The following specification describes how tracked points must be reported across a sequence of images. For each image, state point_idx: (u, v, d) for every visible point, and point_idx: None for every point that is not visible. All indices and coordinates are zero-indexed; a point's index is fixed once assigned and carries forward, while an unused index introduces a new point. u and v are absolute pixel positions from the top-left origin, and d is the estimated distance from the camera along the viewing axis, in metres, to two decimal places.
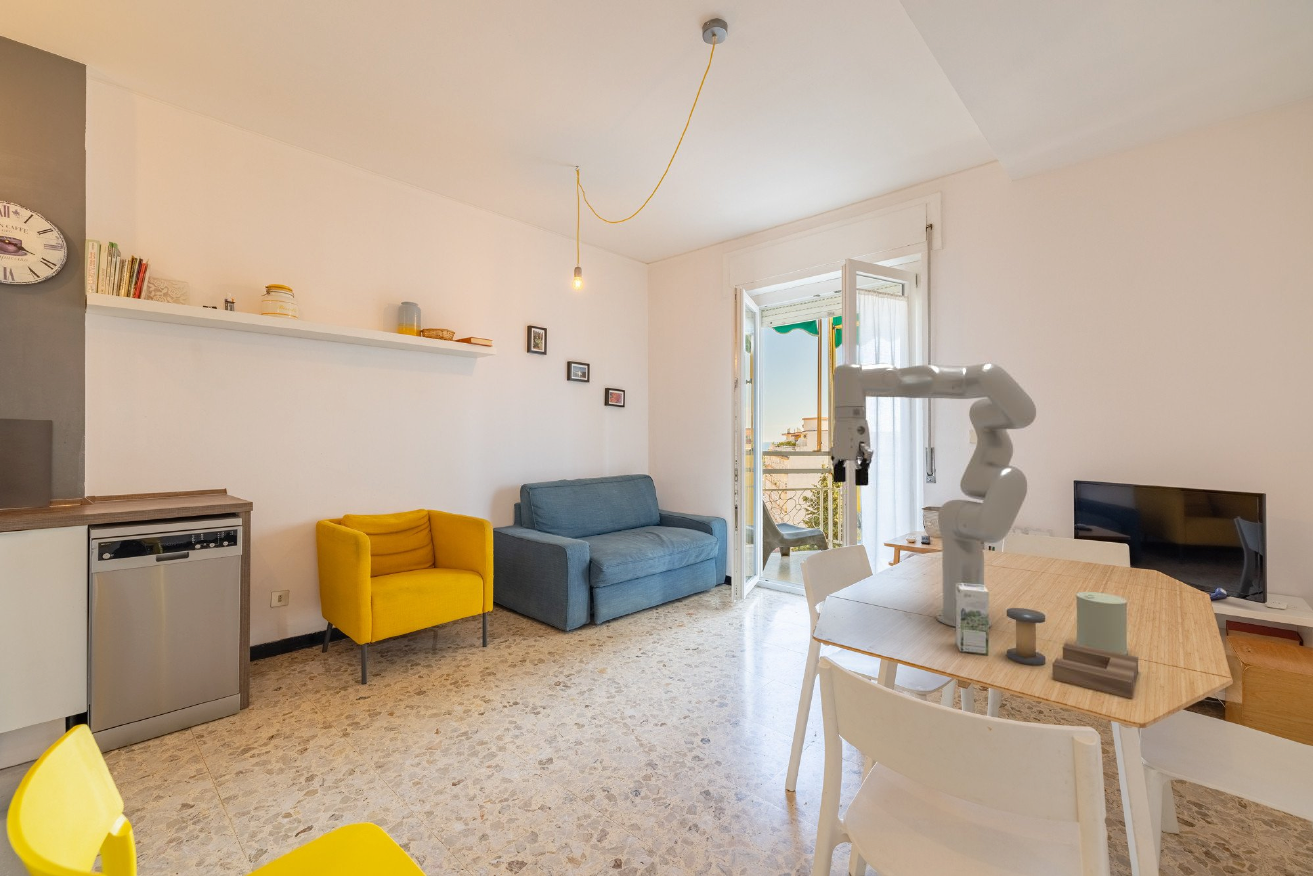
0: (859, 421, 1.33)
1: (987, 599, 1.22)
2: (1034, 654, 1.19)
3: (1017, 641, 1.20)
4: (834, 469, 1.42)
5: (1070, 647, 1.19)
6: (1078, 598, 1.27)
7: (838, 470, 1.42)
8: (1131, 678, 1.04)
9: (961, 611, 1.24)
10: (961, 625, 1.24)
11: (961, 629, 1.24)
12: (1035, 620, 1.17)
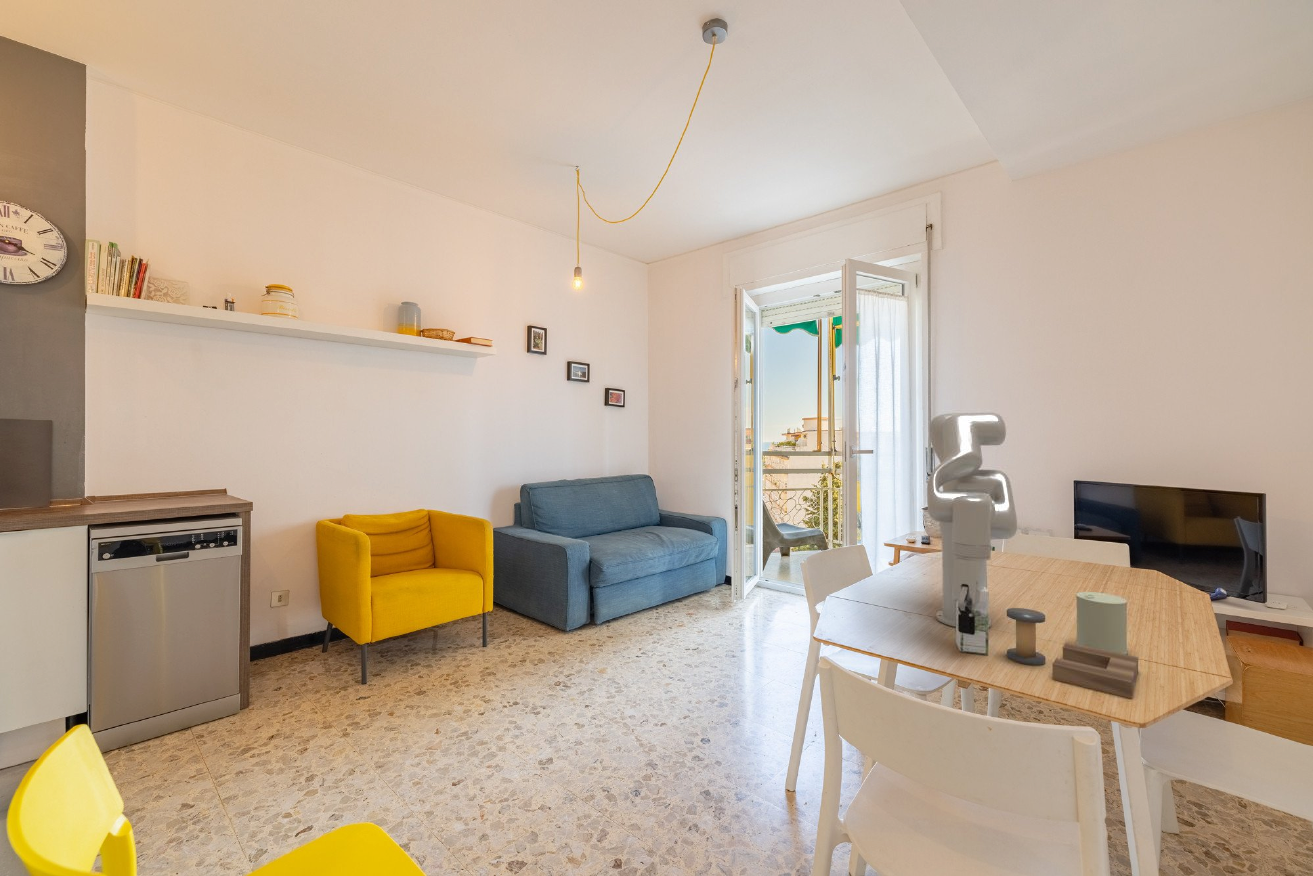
0: None
1: (987, 599, 1.22)
2: (1034, 654, 1.19)
3: (1017, 641, 1.20)
4: None
5: (1070, 647, 1.19)
6: (1078, 598, 1.27)
7: None
8: (1131, 678, 1.04)
9: None
10: None
11: None
12: (1035, 620, 1.17)
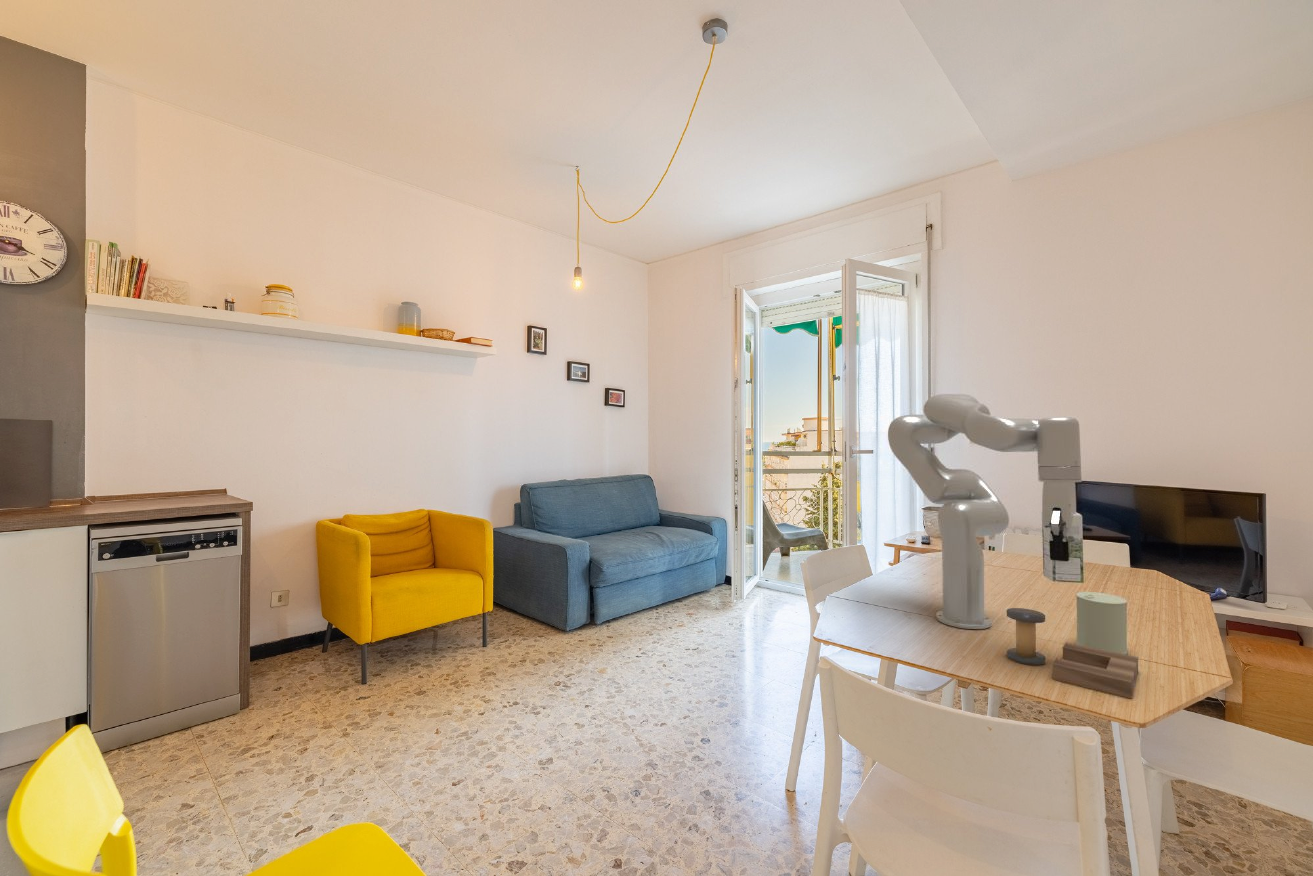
0: None
1: (1080, 523, 1.15)
2: (1034, 654, 1.19)
3: (1017, 641, 1.20)
4: (1068, 545, 1.15)
5: (1070, 647, 1.19)
6: (1078, 598, 1.27)
7: None
8: (1131, 678, 1.04)
9: None
10: None
11: None
12: (1035, 620, 1.17)
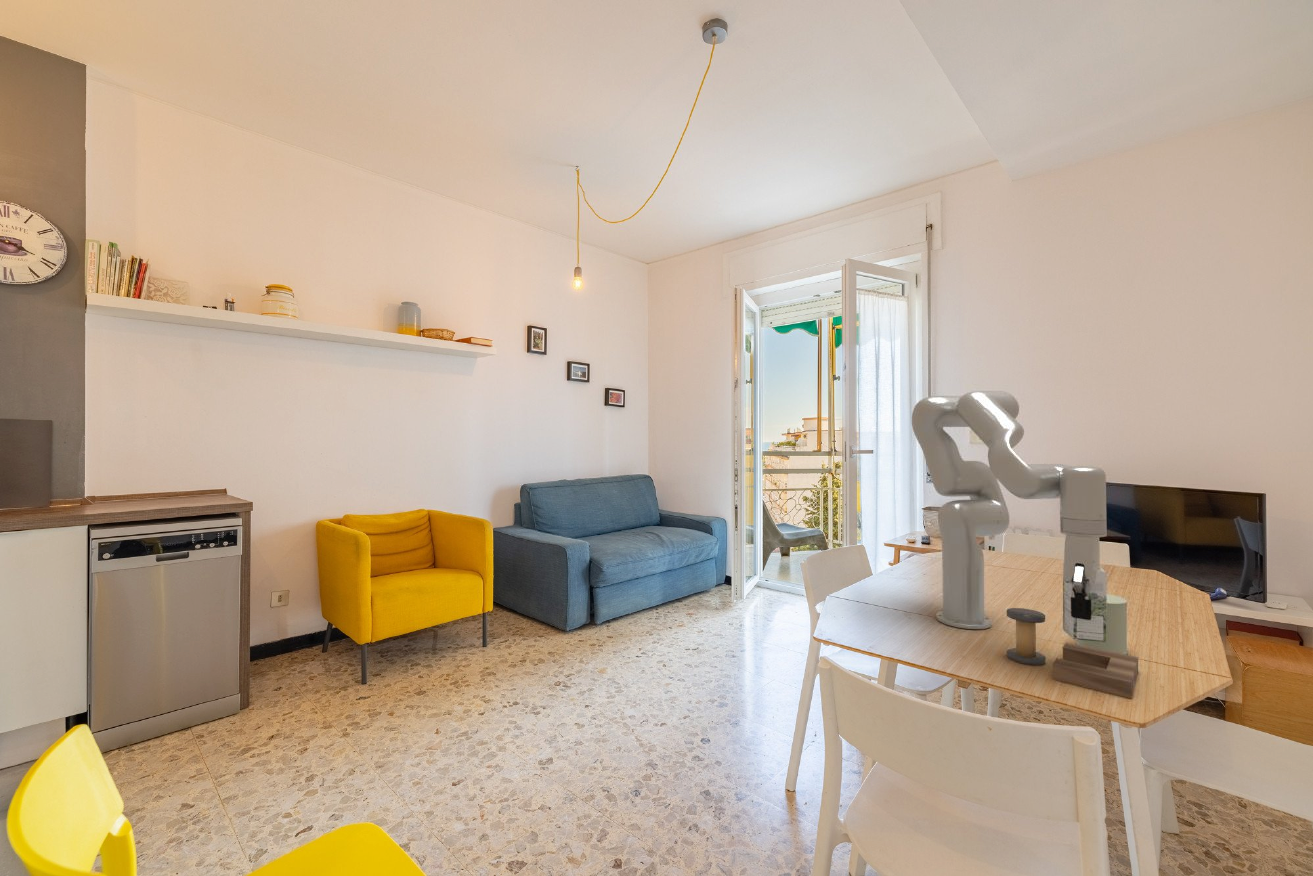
0: None
1: (1105, 580, 1.10)
2: (1034, 654, 1.19)
3: (1017, 641, 1.20)
4: (1090, 603, 1.09)
5: (1070, 647, 1.19)
6: None
7: None
8: (1131, 678, 1.04)
9: None
10: None
11: None
12: (1035, 620, 1.17)
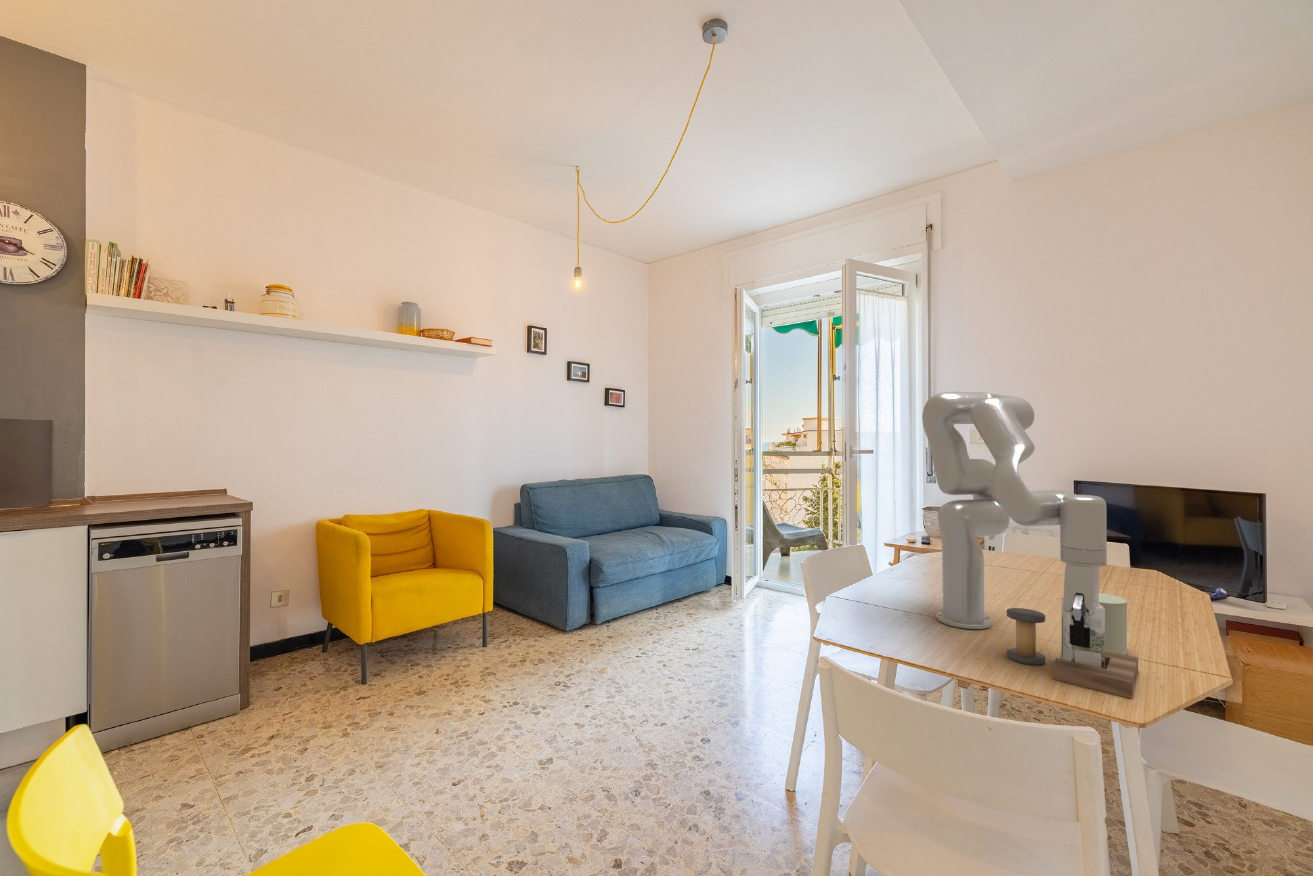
0: None
1: (1103, 617, 1.10)
2: (1034, 654, 1.19)
3: (1017, 641, 1.20)
4: (1089, 631, 1.09)
5: None
6: None
7: None
8: (1131, 678, 1.04)
9: None
10: (1072, 645, 1.12)
11: (1072, 650, 1.12)
12: (1035, 620, 1.17)
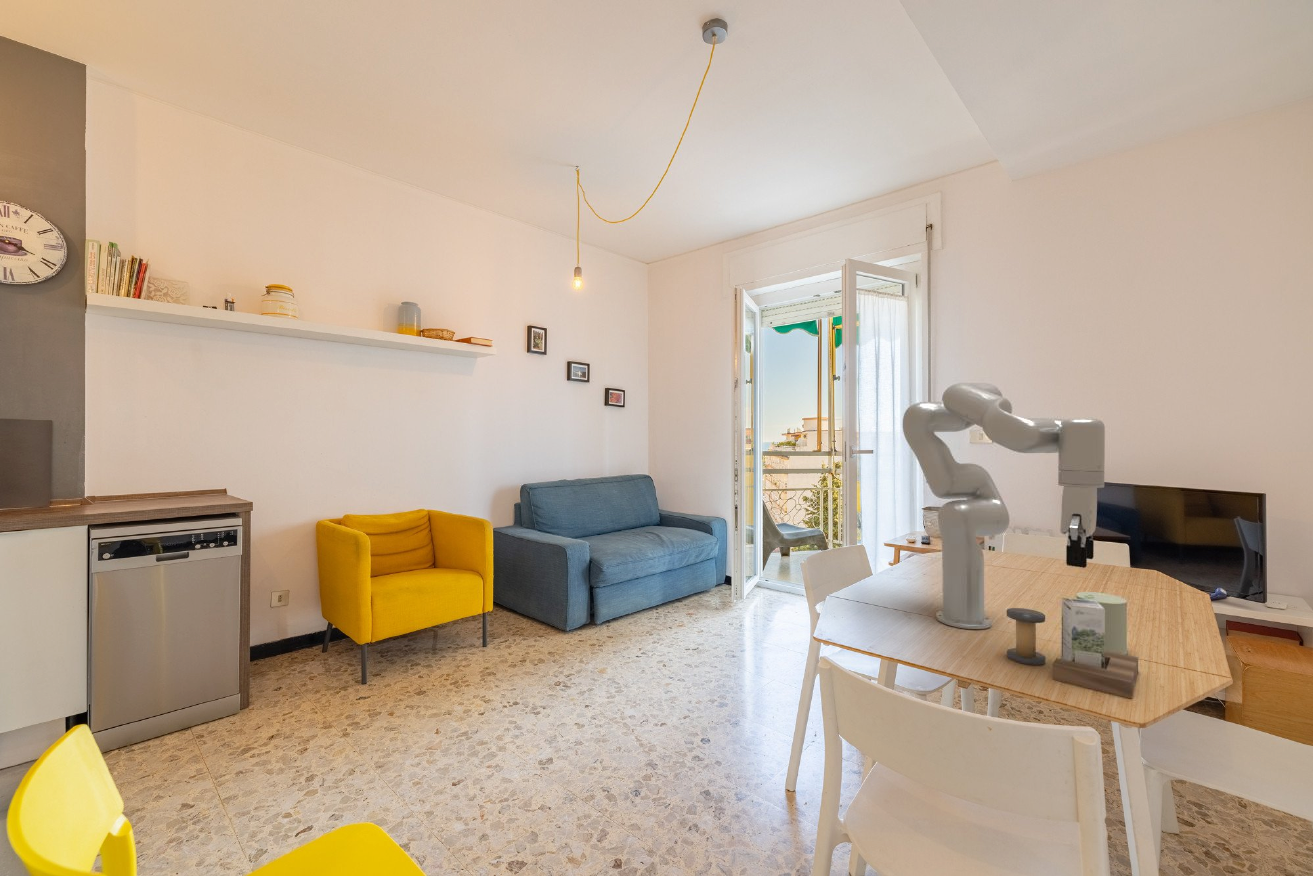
0: None
1: (1103, 617, 1.10)
2: (1034, 654, 1.19)
3: (1017, 641, 1.20)
4: None
5: None
6: (1078, 598, 1.27)
7: None
8: (1131, 678, 1.04)
9: (1072, 630, 1.12)
10: (1072, 645, 1.12)
11: (1072, 650, 1.12)
12: (1035, 620, 1.17)
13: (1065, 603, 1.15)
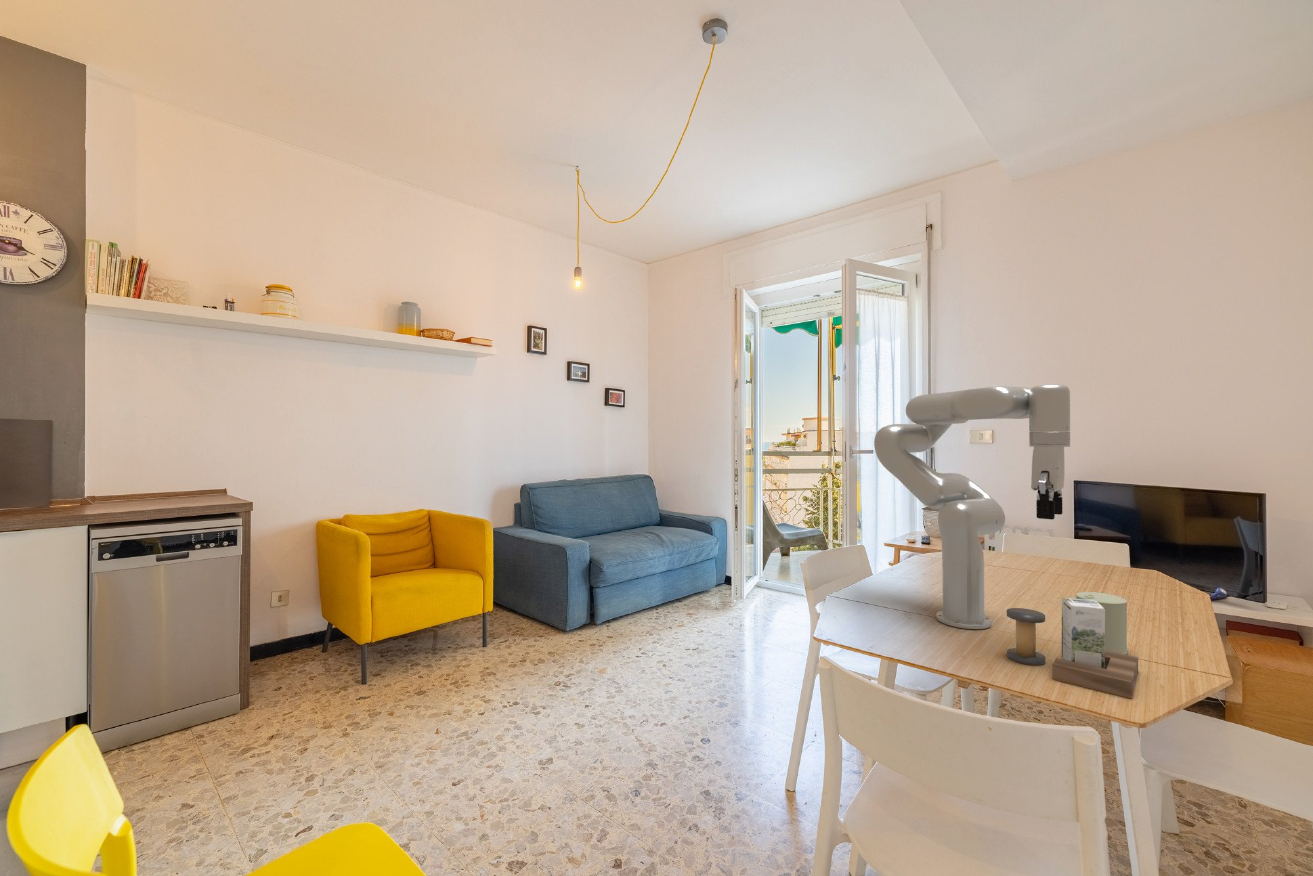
0: None
1: (1103, 617, 1.10)
2: (1034, 654, 1.19)
3: (1017, 641, 1.20)
4: (1054, 504, 1.20)
5: None
6: (1078, 598, 1.27)
7: None
8: (1131, 678, 1.04)
9: (1072, 630, 1.12)
10: (1072, 645, 1.12)
11: (1072, 650, 1.12)
12: (1035, 620, 1.17)
13: (1065, 603, 1.15)
